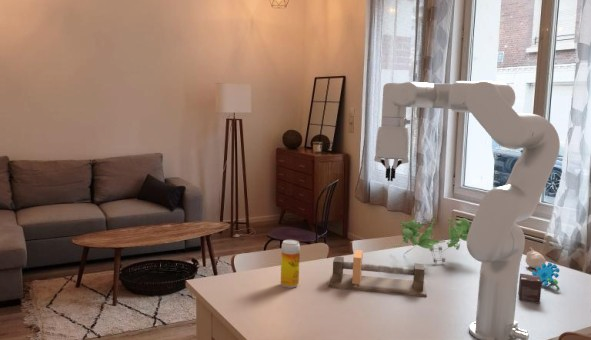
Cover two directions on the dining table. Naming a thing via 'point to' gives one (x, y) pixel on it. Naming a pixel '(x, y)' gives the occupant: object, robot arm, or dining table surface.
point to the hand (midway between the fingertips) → (390, 180)
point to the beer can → (290, 263)
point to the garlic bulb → (534, 259)
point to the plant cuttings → (424, 241)
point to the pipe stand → (379, 278)
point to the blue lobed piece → (547, 274)
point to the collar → (357, 266)
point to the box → (529, 288)
